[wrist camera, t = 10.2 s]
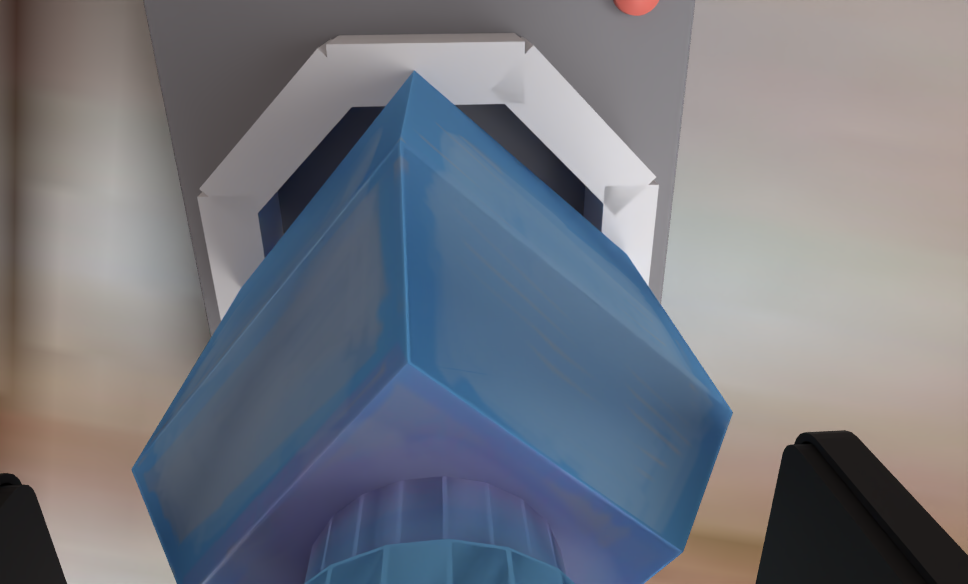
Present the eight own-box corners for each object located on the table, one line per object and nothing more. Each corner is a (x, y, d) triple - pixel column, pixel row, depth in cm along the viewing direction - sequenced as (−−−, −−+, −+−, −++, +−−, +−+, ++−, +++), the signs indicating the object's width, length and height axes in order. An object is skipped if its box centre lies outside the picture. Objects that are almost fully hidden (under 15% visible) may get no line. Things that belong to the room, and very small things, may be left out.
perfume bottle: (627, 254, 16) (1049, 887, 5) (452, 428, 17) (480, 1179, 7) (414, 70, 14) (336, 453, 3) (240, 287, 15) (-211, 1036, 5)
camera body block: (620, 397, 23) (664, 499, 19) (261, 412, 23) (219, 522, 18) (662, -66, 18) (740, -77, 13) (178, -63, 17) (85, -74, 12)
